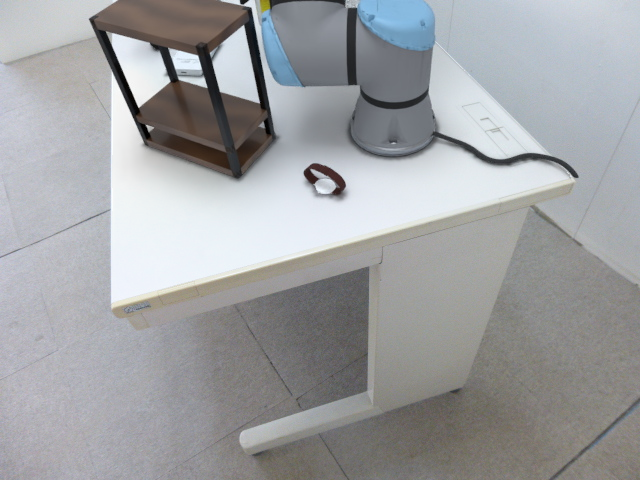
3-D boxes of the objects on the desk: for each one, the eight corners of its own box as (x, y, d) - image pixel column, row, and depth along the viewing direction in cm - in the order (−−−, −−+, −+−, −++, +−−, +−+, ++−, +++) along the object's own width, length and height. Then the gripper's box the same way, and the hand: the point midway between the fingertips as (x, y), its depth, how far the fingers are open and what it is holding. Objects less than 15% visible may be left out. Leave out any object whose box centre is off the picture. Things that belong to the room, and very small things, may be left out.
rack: (184, 108, 101) (142, -16, 82) (275, 137, 93) (251, 7, 74) (144, 144, 95) (88, 18, 76) (238, 178, 87) (201, 47, 68)
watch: (314, 171, 86) (302, 187, 85) (307, 155, 82) (294, 172, 81) (351, 189, 83) (338, 206, 82) (345, 173, 79) (332, 190, 78)
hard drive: (220, 45, 116) (201, 76, 108) (187, 44, 117) (166, 74, 110) (218, 38, 114) (200, 69, 107) (185, 37, 116) (164, 67, 108)
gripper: (353, -22, 110) (300, 28, 98) (279, -34, 117) (220, 11, 105) (353, -59, 104) (295, -11, 92) (274, -70, 111) (211, -27, 99)
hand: (255, 0), depth 99 cm, fingers closed on supplement bottle, 7 cm apart
